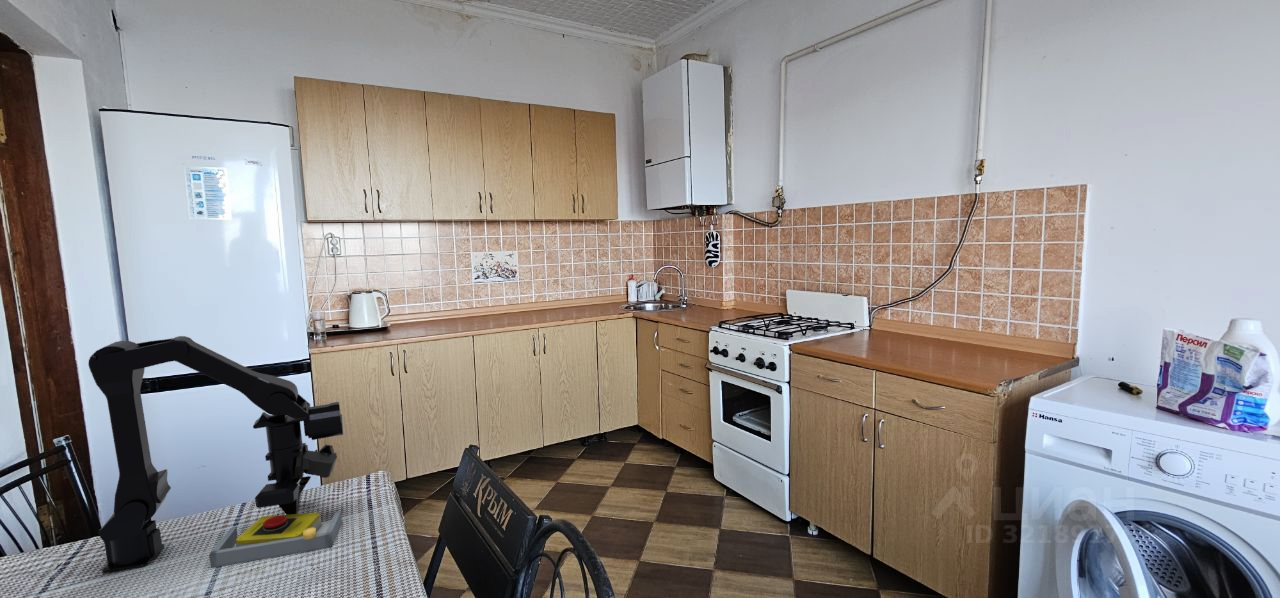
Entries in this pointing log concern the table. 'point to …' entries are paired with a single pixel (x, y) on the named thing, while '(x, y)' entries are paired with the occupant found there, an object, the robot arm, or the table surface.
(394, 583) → the table surface
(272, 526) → the emergency button
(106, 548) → the robot arm
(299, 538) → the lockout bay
